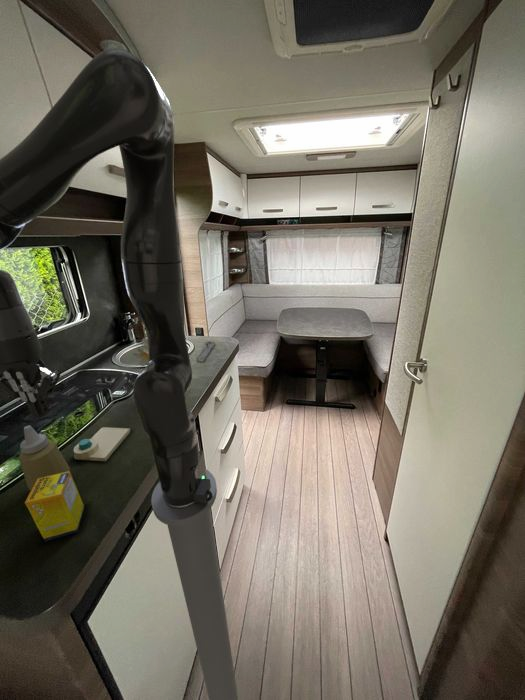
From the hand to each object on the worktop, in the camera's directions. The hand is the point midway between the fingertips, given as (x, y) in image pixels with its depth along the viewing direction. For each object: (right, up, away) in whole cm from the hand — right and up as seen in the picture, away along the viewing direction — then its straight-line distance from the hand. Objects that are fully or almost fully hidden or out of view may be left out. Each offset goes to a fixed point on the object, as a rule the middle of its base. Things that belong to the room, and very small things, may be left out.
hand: (41, 414), depth 55 cm
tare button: (-4, -13, +20) cm, 25 cm away
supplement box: (+3, -24, +3) cm, 24 cm away
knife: (+15, +12, +86) cm, 88 cm away
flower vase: (+9, -4, +48) cm, 49 cm away
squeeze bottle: (-6, -20, +11) cm, 24 cm away
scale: (-2, -14, +25) cm, 29 cm away
